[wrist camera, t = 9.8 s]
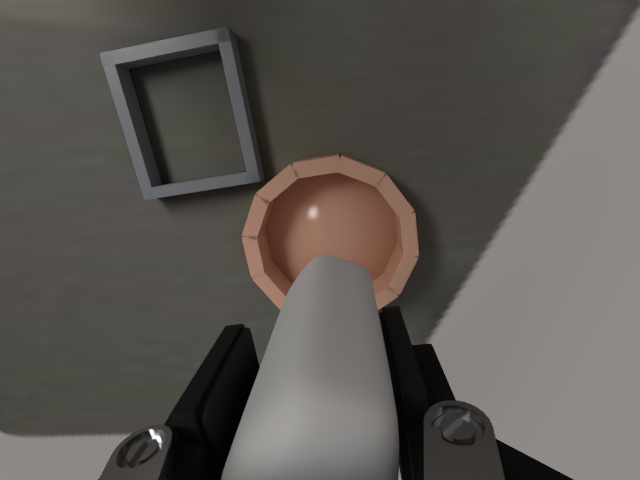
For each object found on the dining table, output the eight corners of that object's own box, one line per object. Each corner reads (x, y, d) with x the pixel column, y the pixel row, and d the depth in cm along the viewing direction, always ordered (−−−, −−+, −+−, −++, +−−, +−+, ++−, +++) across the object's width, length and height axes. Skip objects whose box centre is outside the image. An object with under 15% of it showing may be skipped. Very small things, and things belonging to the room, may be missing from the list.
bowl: (242, 168, 25) (226, 173, 22) (399, 142, 24) (409, 143, 20) (273, 308, 28) (263, 331, 25) (413, 291, 27) (424, 313, 23)
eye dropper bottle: (411, 312, 14) (795, 1272, 2) (310, 388, 15) (203, 1224, 3) (337, 234, 13) (289, 1036, 1) (238, 322, 14) (-206, 1097, 3)
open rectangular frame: (114, 58, 23) (99, 53, 22) (234, 33, 22) (227, 26, 21) (155, 196, 26) (144, 200, 24) (264, 179, 25) (260, 181, 24)
